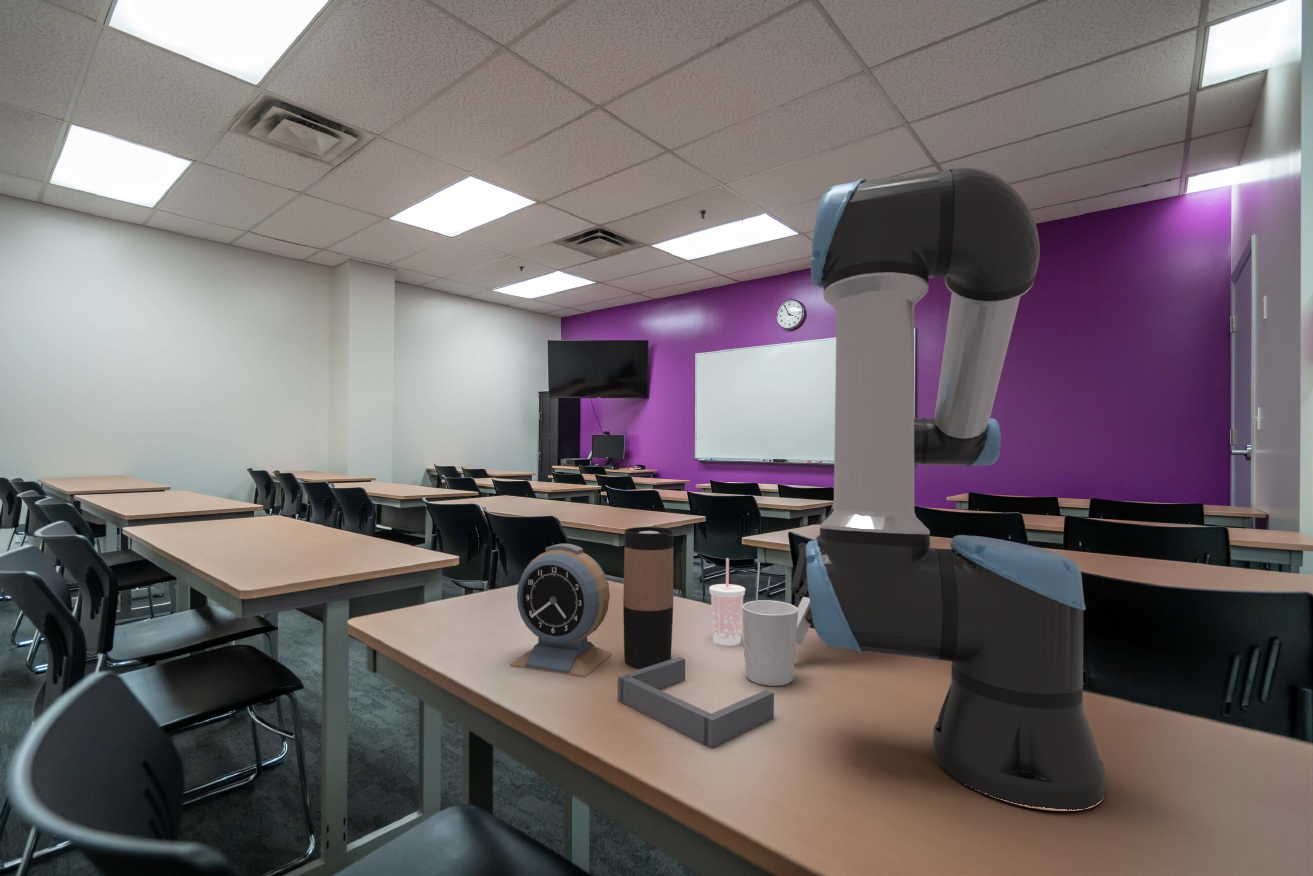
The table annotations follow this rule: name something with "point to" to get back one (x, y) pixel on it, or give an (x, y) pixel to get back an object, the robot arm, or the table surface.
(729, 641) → the beverage cup
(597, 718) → the table surface
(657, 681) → the corral
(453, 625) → the table surface
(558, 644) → the alarm clock
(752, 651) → the white cup
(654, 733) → the table surface
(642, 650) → the travel mug
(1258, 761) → the table surface
